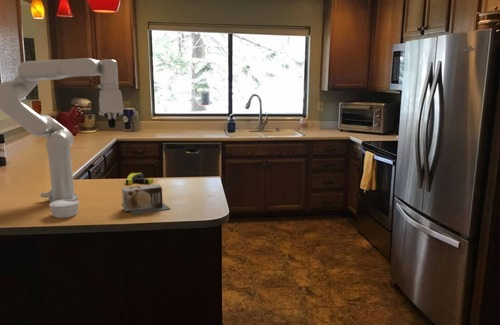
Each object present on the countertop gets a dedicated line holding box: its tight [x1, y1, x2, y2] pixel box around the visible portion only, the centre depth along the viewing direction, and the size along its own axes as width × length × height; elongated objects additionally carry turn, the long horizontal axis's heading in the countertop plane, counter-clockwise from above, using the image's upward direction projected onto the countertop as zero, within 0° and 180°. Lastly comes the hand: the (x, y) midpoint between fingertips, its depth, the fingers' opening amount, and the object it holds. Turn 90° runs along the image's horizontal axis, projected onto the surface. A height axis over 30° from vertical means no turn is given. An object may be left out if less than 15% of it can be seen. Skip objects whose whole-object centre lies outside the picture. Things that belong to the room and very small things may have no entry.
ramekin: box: [48, 199, 80, 219], centre depth 173 cm, size 11×11×5 cm
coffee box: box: [121, 184, 164, 212], centre depth 182 cm, size 9×6×16 cm
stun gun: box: [125, 172, 154, 186], centre depth 234 cm, size 3×19×15 cm
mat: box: [121, 202, 171, 216], centre depth 185 cm, size 16×18×1 cm
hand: (112, 127), depth 195 cm, fingers closed
